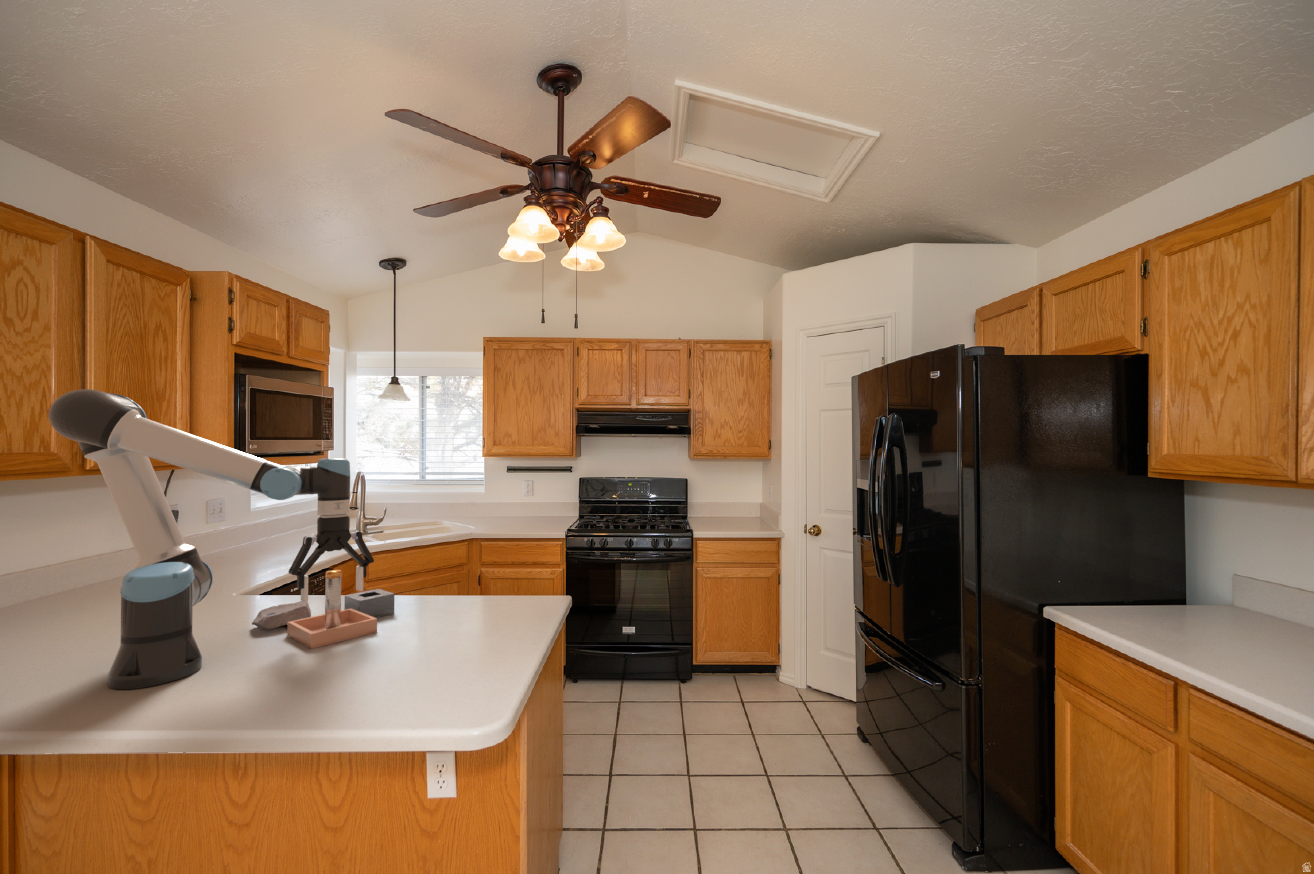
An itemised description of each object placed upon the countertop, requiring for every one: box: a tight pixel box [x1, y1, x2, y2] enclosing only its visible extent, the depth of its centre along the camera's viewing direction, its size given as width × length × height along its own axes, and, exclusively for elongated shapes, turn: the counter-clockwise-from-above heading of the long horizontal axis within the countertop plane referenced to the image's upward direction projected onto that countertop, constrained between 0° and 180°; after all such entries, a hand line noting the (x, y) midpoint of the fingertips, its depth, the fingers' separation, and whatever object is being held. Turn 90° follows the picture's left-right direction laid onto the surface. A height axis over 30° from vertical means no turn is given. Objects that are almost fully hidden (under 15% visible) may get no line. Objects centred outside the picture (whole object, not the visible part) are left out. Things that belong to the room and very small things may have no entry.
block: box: [343, 588, 395, 619], centre depth 164 cm, size 10×10×6 cm
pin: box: [324, 569, 342, 630], centre depth 147 cm, size 4×4×16 cm
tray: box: [286, 608, 378, 649], centre depth 146 cm, size 16×16×4 cm
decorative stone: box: [251, 600, 312, 630], centre depth 153 cm, size 13×10×6 cm
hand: (332, 595), depth 147 cm, fingers open, 13 cm apart
